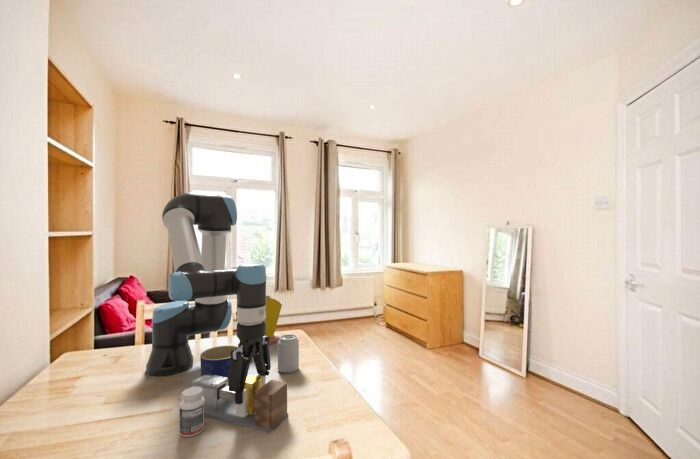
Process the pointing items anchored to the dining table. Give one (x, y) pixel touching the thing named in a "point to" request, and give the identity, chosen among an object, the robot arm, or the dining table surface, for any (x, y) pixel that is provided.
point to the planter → (217, 361)
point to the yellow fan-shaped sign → (271, 318)
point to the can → (288, 353)
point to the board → (237, 417)
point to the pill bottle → (192, 412)
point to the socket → (271, 404)
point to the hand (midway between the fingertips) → (251, 406)
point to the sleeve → (211, 390)
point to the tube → (251, 386)
